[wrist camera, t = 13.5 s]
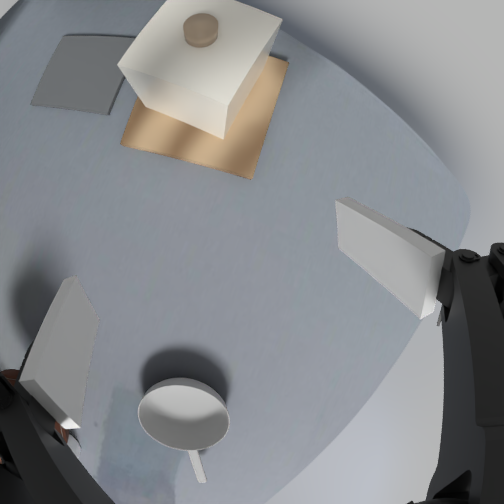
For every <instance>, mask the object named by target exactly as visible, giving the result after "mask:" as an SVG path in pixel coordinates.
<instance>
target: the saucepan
mask: <svg viewBox="0 0 504 504" xmlns="http://www.w3.org/2000/svg"><path fill="white" fill-rule="evenodd" d="M138 418H139V421H140V424H141V426H142V427H143V429H144V430H145V431H146V433H147V434H148V435H149V436H150V437H152V438H153V439H154V440H156V441H157V442H159V443H161V444H163V445H165V446H167V447H170V448H174V449H178V450H185V451H188V453H189V456H190V459H191V462H192V465H193V468H194V471H195V474H196V477H197V480H198V481H199V482H201V483H204V482H207V478H206V475H205V472H204V469H203V466H202V462H201V459H200V456H199V452H198V450H201V449H206V448H209V447H211V446H213V445H215V444H217V443H218V442H220V441H221V440H222V439H223V438H224V437H225V435H226V434H227V432H228V430H229V425H230V419H229V413H228V410H227V407H226V404H225V402H224V401H223V399H222V398H221V396H220V395H219V394H218V393H217V392H216V391H214V390H213V389H212V388H211V387H209V386H208V385H206V384H204V383H202V382H200V381H197V380H194V379H190V378H170V379H166V380H163V381H161V382H159V383H157V384H155V385H153V386H152V387H151V388H149V389H148V391H147V392H146V393H145V394H144V396H143V398H142V400H141V402H140V404H139V408H138Z"/></svg>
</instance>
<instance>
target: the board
mask: <svg viewBox="0 0 504 504" xmlns="http://www.w3.org/2000/svg"><path fill="white" fill-rule="evenodd" d="M288 65H289V62H286V61H283V60H280V59H277V58H274V57H271V56H268V58H267V61H266V64H265V66H264V69H263V71H262V73H261V75H260V76H259V78H258V80H257V81H256V83H255V85H254V86H253V88H252V90H251V91H250V93H249V95H248V97H247V98H246V100H245V102H244V104H243V105H242V107H241V109H240V111H239V112H238V114H237V116H236V118H235V120H234V121H233V123H232V125H231V127H230V129H229V131H228V132H227V134H226V136H225V138H224V140H223V139H221V138H219V137H217V136H214V135H212V134H210V133H208V132H205V131H203V130H201V129H199V128H196V127H194V126H192V125H189V124H187V123H185V122H182V121H180V120H178V119H175V118H173V117H170V116H168V115H165V114H163V113H160V112H158V111H155V110H153V109H150V108H147V107H145V105H144V104H143V102H142V101H141V99H140V98H139V96H138V97H137V100H136V102H135V105H134V107H133V110H132V112H131V115H130V118H129V120H128V123H127V126H126V128H125V131H124V134H123V137H122V140H121V143H120V144H121V145H123V146H126V147H130V148H134V149H139V150H143V151H147V152H152V153H156V154H160V155H164V156H168V157H172V158H176V159H180V160H183V161H187V162H191V163H195V164H198V165H202V166H206V167H209V168H213V169H216V170H220V171H223V172H227V173H230V174H234V175H237V176H240V177H244V178H247V179H250V180H251V179H252V178H253V175H254V172H255V168H256V165H257V162H258V159H259V155H260V152H261V149H262V146H263V142H264V139H265V136H266V133H267V130H268V127H269V123H270V120H271V117H272V114H273V111H274V108H275V104H276V101H277V98H278V95H279V92H280V89H281V86H282V83H283V80H284V77H285V74H286V71H287V68H288Z"/></svg>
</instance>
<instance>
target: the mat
mask: <svg viewBox="0 0 504 504" xmlns="http://www.w3.org/2000/svg"><path fill="white" fill-rule="evenodd" d="M135 39H136V38H126V37H111V36H63V37H62V39H61V41H60V43H59V44H58V46H57V48H56V50H55V52H54V54H53V56H52V58H51V59H50V61H49V63H48V65H47V67H46V70H45V72H44V74H43V76H42V78H41V80H40V82H39V85H38V87H37V89H36V92H35V94H34V96H33V99H32V101H31V105H33V106H44V107H53V108H62V109H70V110H77V111H84V112H91V113H97V114H103V115H109V114H110V112H111V109H112V107H113V104H114V102H115V99H116V97H117V95H118V92H119V90H120V88H121V85H122V83H123V81H124V79H125V76H124V74H123V73H122V71H121V70H120V68H119V67H118V65H117V64H118V63H119V61H120V60H121V58H122V57H123V55H124V54H125V53H126V51H127V50H128V48H129V47H130V46H131V44H132V43H133V41H134V40H135Z"/></svg>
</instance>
